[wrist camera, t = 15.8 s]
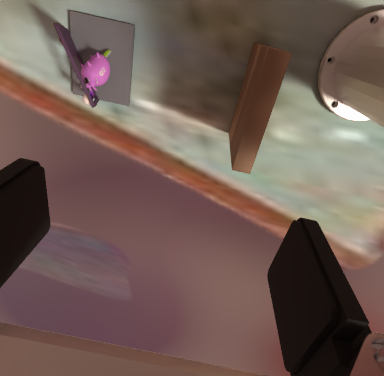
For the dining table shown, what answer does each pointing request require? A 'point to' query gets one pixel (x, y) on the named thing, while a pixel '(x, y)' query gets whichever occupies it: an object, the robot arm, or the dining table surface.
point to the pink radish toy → (86, 67)
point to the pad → (100, 42)
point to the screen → (256, 103)
